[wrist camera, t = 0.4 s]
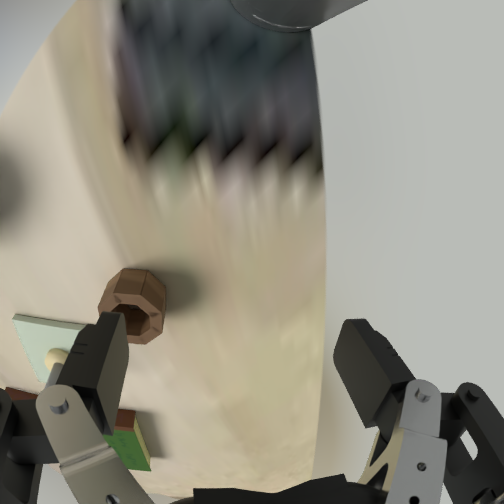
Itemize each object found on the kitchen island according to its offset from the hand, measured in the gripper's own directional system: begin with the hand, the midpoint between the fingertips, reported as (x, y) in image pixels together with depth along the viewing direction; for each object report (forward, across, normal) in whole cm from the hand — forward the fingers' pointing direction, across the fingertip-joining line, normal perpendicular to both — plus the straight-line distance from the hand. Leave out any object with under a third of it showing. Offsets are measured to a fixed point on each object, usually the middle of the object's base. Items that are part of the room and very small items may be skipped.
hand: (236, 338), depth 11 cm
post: (+19, +18, +21) cm, 34 cm away
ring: (+18, +7, +10) cm, 22 cm away
